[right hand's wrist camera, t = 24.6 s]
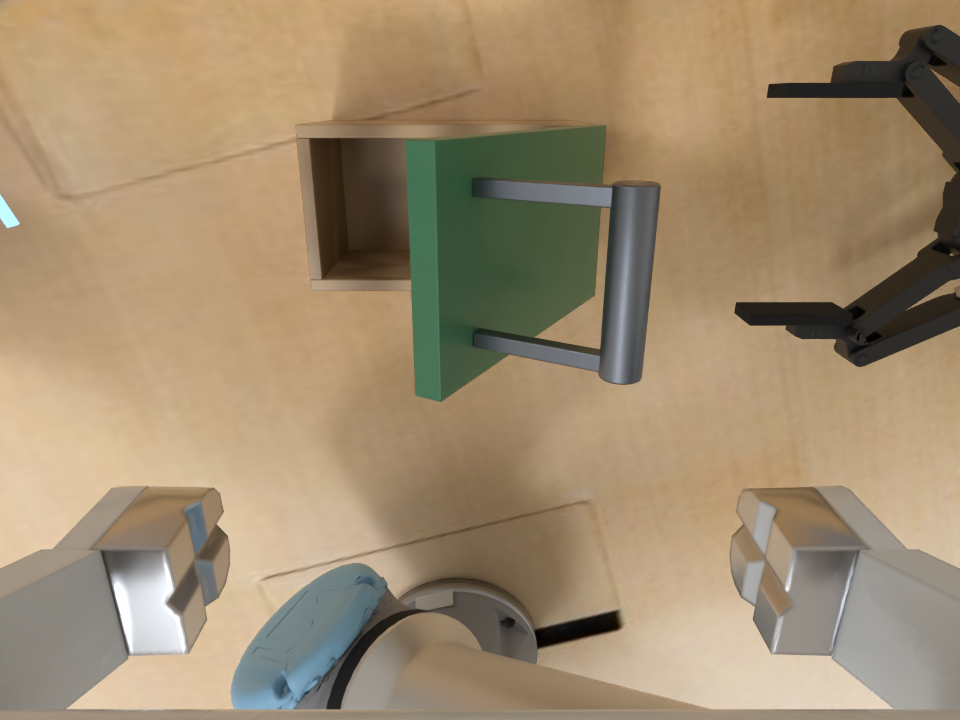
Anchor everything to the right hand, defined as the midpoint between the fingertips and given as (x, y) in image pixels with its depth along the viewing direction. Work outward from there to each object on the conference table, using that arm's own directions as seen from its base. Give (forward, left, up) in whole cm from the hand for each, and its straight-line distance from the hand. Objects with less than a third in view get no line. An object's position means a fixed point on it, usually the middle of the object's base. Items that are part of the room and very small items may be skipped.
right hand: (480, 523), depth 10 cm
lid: (+1, +1, -23) cm, 23 cm away
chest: (-1, -2, -41) cm, 41 cm away
